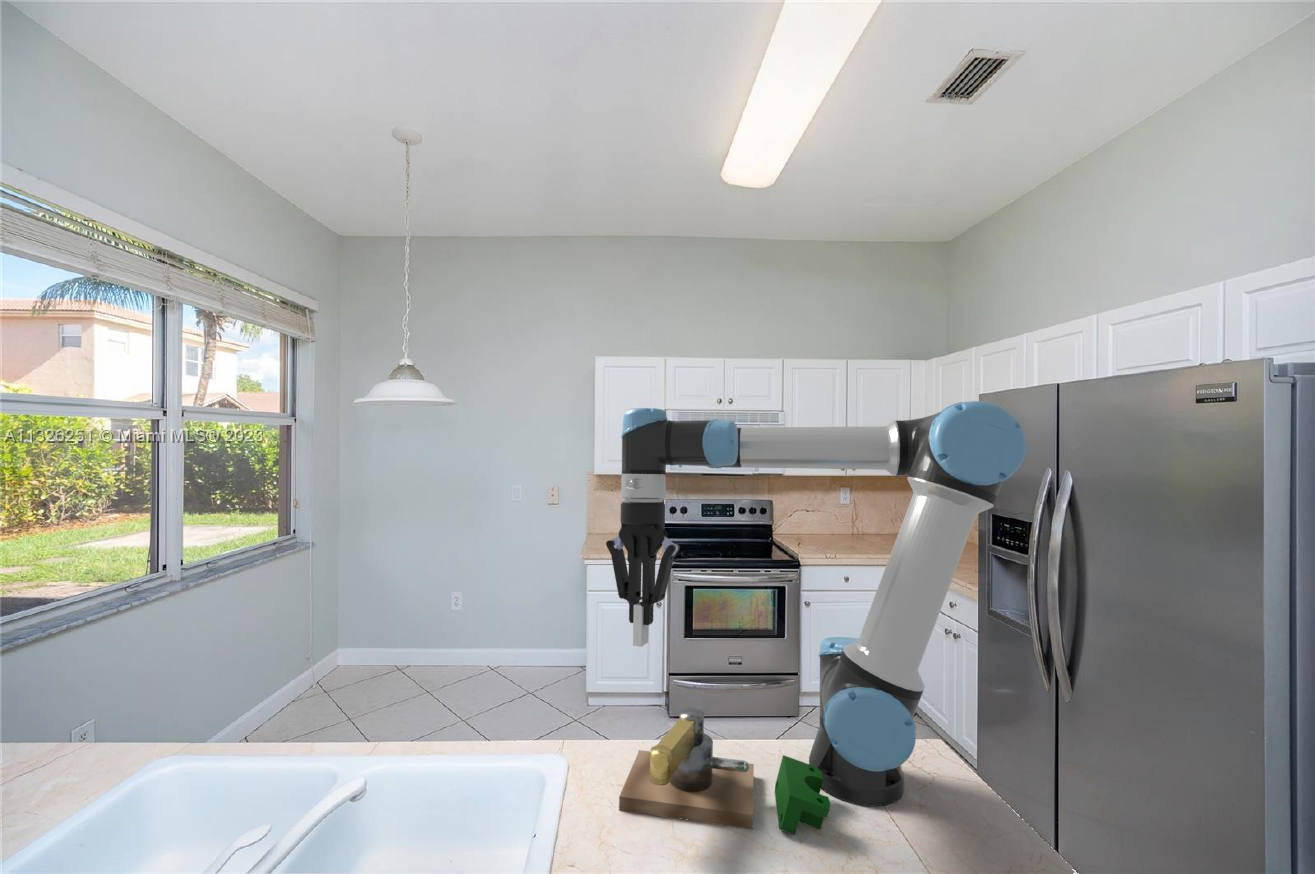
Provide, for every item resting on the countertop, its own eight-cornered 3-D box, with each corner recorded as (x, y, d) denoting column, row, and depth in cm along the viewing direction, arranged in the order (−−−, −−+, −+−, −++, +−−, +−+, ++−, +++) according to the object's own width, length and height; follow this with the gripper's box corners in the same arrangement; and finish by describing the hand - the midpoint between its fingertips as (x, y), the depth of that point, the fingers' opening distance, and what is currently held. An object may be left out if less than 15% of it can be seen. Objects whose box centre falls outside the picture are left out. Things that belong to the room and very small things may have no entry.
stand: (753, 776, 91) (753, 764, 91) (752, 829, 77) (753, 814, 77) (638, 761, 95) (639, 750, 95) (618, 810, 81) (619, 796, 81)
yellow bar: (683, 730, 89) (684, 706, 89) (706, 736, 88) (707, 710, 88) (642, 781, 74) (643, 751, 74) (669, 788, 73) (670, 758, 73)
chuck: (749, 774, 88) (749, 737, 88) (748, 800, 81) (749, 758, 81) (672, 765, 90) (673, 728, 91) (665, 788, 83) (666, 748, 84)
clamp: (813, 864, 77) (833, 823, 74) (772, 848, 78) (789, 806, 74) (811, 787, 88) (828, 749, 85) (775, 774, 89) (790, 735, 86)
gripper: (598, 499, 89) (594, 644, 88) (669, 502, 84) (667, 656, 82) (619, 498, 96) (617, 632, 94) (687, 500, 91) (685, 643, 89)
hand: (640, 643), depth 88 cm, fingers closed
